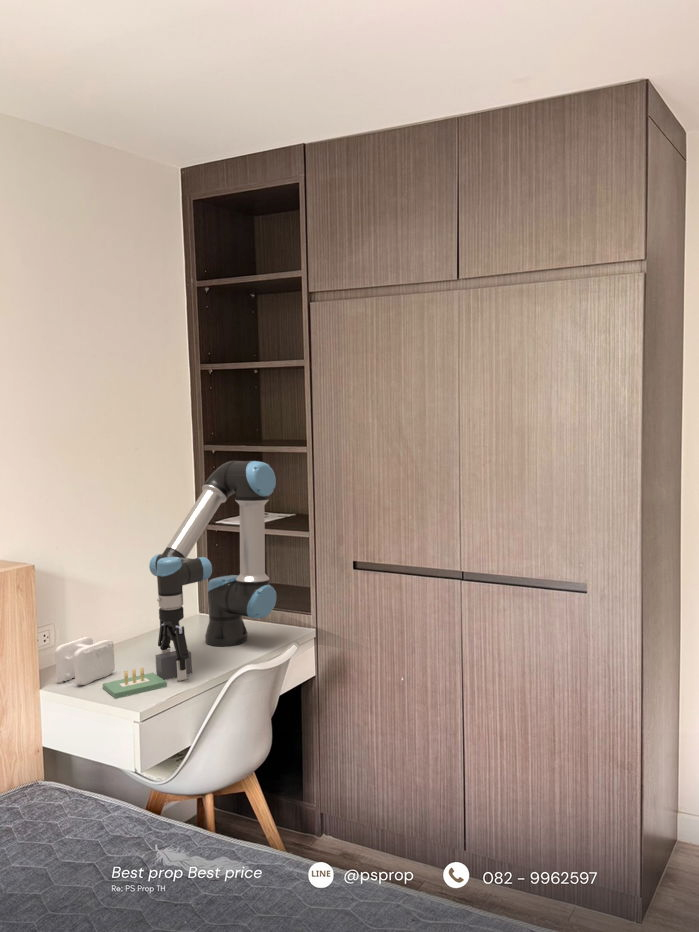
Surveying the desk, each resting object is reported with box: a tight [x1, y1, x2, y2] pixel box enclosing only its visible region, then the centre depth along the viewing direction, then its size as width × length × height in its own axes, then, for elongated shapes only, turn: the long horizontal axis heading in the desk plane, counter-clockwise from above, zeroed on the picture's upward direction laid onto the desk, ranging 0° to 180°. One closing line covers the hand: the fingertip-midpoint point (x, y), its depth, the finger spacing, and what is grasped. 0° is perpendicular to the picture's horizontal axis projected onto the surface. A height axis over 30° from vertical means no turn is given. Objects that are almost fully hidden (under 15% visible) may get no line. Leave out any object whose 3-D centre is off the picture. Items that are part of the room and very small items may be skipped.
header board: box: [102, 667, 168, 699], centre depth 255 cm, size 16×11×6 cm
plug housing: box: [155, 650, 193, 681], centre depth 266 cm, size 10×4×7 cm, turn 124°
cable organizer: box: [54, 636, 116, 686], centre depth 265 cm, size 15×11×12 cm
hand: (174, 674), depth 266 cm, fingers open, 12 cm apart
